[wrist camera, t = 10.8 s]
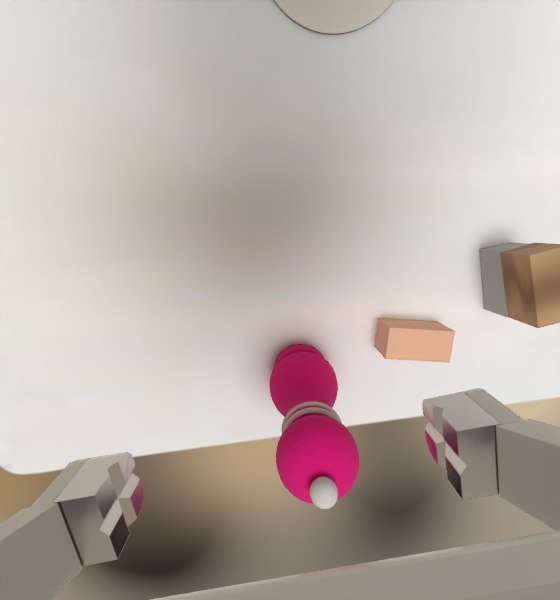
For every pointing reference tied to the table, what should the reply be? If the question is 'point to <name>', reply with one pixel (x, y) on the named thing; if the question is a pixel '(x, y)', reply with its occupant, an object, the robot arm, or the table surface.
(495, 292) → the slate-grey brick
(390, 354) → the terracotta brick
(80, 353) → the table surface
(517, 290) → the walnut brick
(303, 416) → the pepper mill
